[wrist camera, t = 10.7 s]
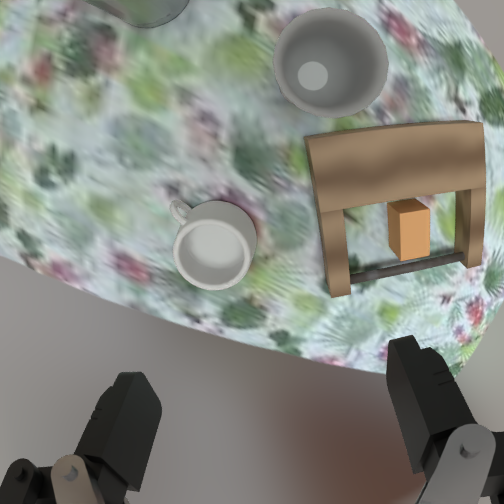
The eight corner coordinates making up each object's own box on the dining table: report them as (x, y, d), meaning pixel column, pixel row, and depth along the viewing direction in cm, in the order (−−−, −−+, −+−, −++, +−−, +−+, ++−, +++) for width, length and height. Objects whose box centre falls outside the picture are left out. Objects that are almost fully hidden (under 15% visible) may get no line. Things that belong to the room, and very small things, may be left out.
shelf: (303, 136, 35) (307, 139, 31) (465, 120, 32) (482, 122, 28) (326, 281, 42) (331, 297, 39) (467, 252, 39) (480, 265, 36)
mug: (273, 240, 40) (273, 262, 35) (217, 283, 43) (210, 309, 38) (207, 168, 37) (196, 178, 31) (153, 219, 40) (136, 237, 34)
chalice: (293, 44, 30) (315, -12, 14) (344, 77, 31) (408, 52, 15) (258, 94, 33) (249, 77, 16) (309, 126, 34) (346, 141, 18)
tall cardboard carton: (386, 202, 37) (399, 213, 33) (414, 198, 37) (429, 208, 33) (389, 246, 40) (400, 261, 36) (415, 241, 39) (429, 255, 35)
